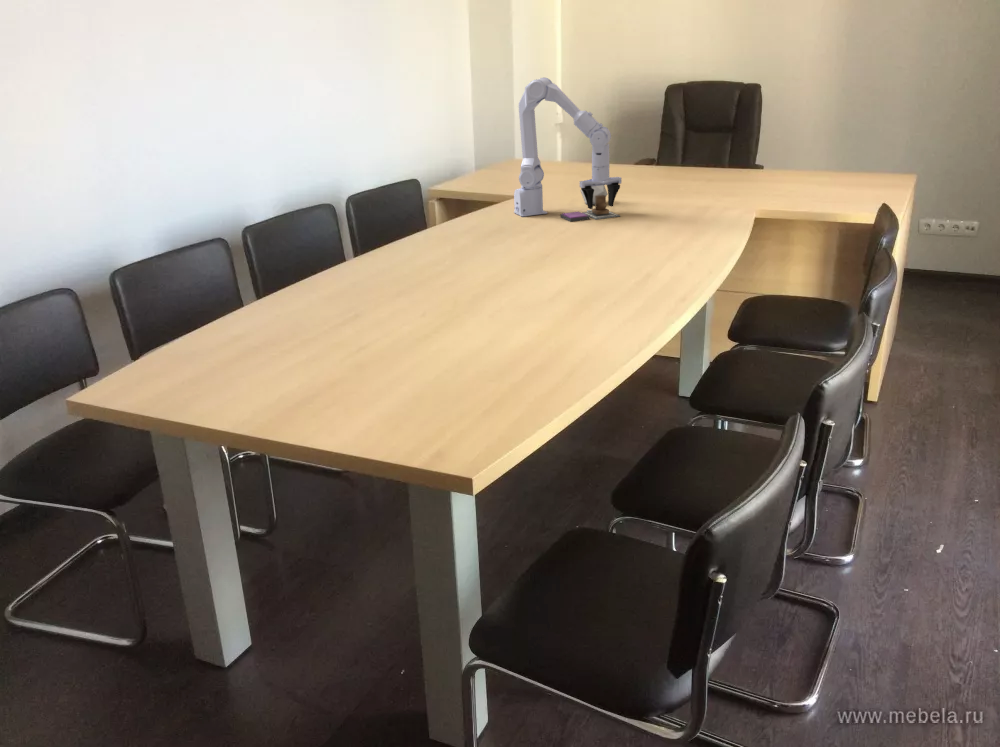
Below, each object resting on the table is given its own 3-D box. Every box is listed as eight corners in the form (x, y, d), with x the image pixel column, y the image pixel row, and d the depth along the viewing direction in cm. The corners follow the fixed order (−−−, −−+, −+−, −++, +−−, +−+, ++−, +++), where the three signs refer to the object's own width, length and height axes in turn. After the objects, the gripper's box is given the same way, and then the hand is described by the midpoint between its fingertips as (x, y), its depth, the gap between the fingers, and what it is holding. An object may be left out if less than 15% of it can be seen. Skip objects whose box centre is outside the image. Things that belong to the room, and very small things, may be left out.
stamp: (596, 215, 280) (596, 197, 278) (592, 213, 284) (592, 195, 282) (609, 214, 281) (609, 196, 279) (604, 212, 285) (604, 194, 283)
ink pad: (570, 221, 275) (570, 217, 275) (560, 217, 282) (560, 213, 282) (589, 219, 277) (589, 215, 277) (579, 214, 284) (579, 211, 284)
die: (591, 209, 295) (608, 185, 292) (572, 195, 297) (589, 171, 295) (598, 213, 302) (615, 189, 300) (580, 199, 305) (596, 176, 303)
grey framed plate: (595, 219, 276) (595, 216, 276) (581, 213, 286) (581, 210, 286) (620, 216, 279) (620, 213, 279) (605, 210, 289) (605, 207, 288)
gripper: (586, 169, 271) (586, 211, 276) (626, 165, 275) (625, 206, 280) (576, 166, 277) (577, 208, 282) (616, 162, 281) (615, 203, 286)
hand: (600, 207), depth 282 cm, fingers open, 7 cm apart
